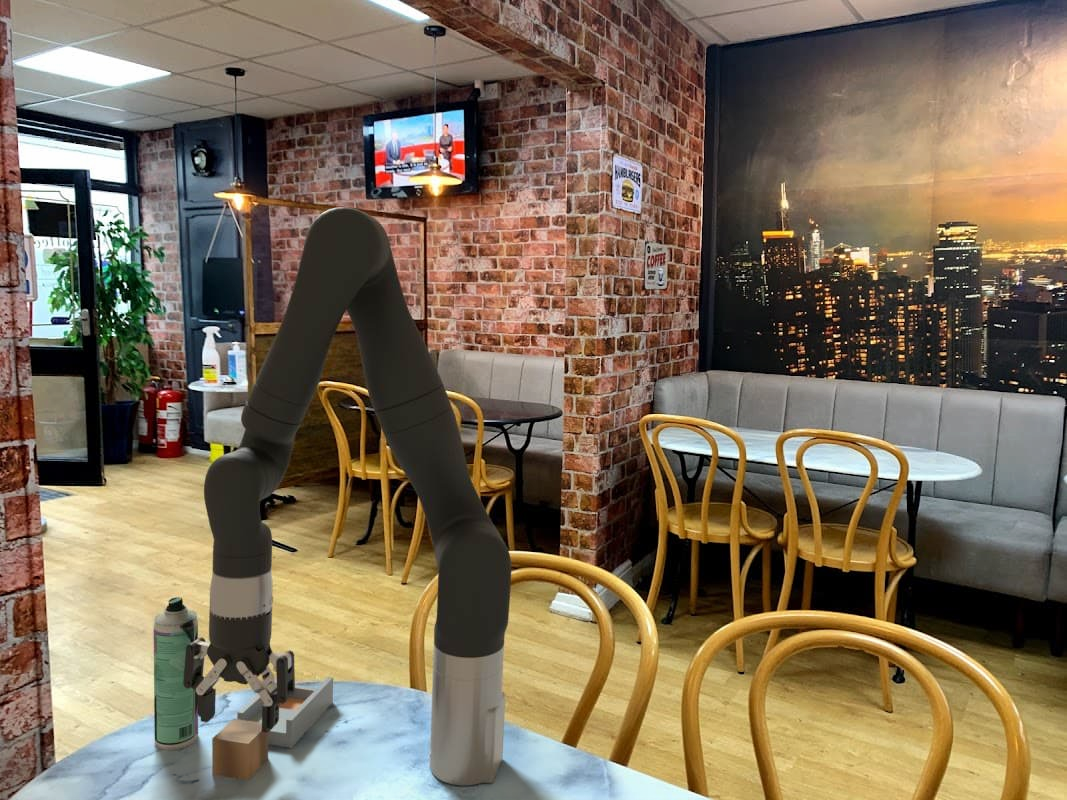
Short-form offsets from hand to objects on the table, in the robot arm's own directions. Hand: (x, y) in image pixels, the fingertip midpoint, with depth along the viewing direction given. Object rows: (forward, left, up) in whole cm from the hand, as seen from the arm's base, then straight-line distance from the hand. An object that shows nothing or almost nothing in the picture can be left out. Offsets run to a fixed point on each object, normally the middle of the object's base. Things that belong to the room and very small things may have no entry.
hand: (238, 724), depth 102 cm
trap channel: (0, -12, -6) cm, 13 cm away
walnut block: (0, -3, -4) cm, 5 cm away
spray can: (+12, -4, -6) cm, 14 cm away
